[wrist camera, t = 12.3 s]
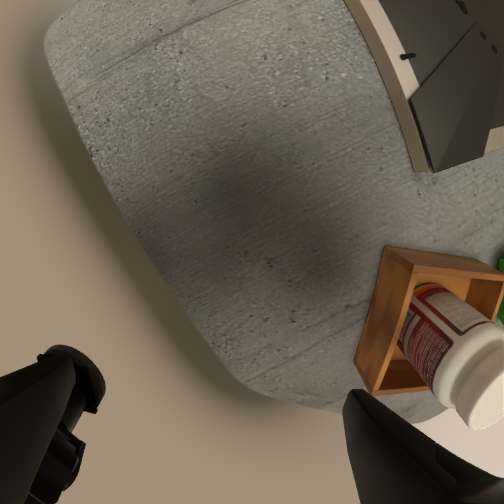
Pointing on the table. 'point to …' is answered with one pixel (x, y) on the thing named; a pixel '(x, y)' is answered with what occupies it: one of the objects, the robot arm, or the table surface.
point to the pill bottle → (456, 354)
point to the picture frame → (440, 74)
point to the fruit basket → (503, 308)
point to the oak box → (397, 303)
